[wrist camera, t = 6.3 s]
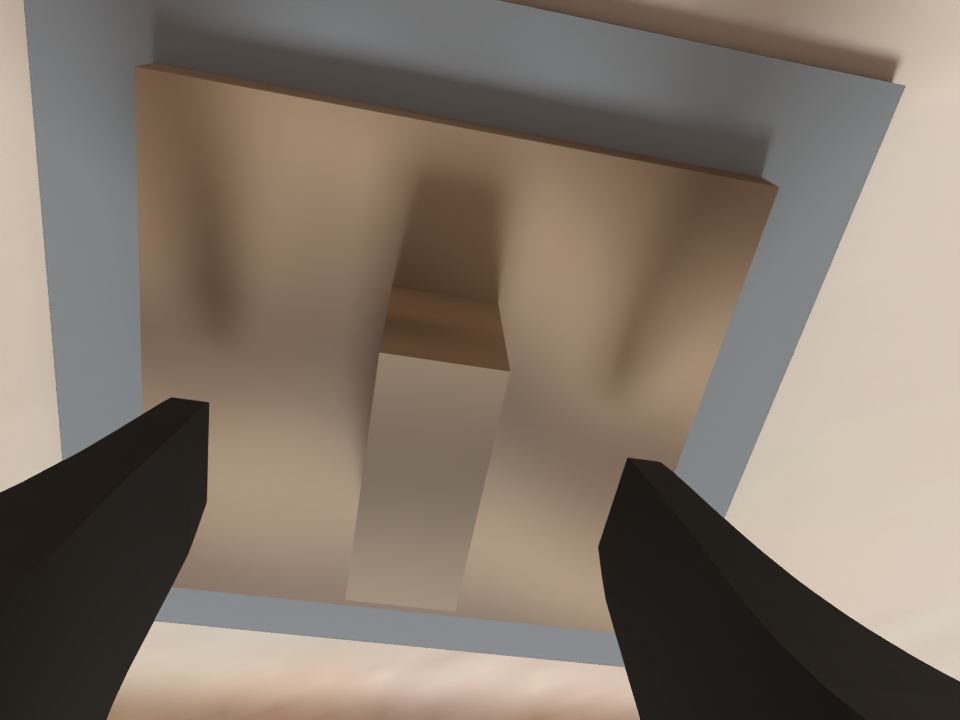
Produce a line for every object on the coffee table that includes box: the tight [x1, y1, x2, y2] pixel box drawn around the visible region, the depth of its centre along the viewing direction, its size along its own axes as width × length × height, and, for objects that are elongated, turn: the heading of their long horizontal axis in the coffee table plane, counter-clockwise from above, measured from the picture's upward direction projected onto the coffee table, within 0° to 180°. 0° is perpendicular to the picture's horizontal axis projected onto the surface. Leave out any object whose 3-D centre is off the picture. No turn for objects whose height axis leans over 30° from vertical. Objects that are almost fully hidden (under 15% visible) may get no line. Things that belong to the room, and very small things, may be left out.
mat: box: [24, 0, 905, 667], centre depth 15 cm, size 15×15×1 cm
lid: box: [134, 63, 779, 633], centre depth 13 cm, size 11×11×4 cm
